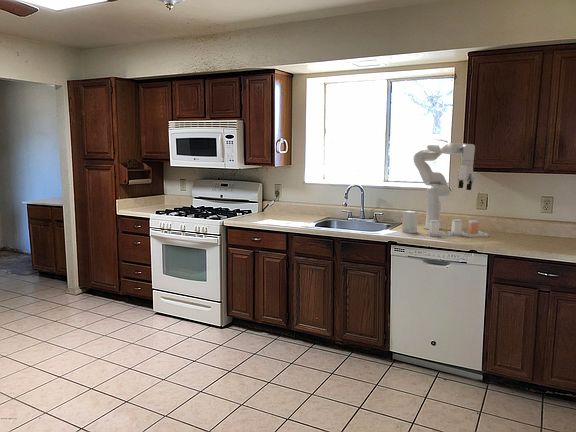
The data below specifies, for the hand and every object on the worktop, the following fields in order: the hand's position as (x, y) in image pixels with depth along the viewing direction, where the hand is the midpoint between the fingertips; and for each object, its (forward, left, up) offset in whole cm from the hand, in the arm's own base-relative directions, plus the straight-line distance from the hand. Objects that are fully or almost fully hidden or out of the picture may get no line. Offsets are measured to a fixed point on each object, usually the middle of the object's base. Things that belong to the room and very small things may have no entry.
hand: (464, 188), depth 308 cm
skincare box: (-9, -33, -32) cm, 47 cm away
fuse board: (+6, -15, -31) cm, 35 cm away
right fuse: (+6, -7, -30) cm, 31 cm away
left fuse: (+6, -23, -30) cm, 38 cm away
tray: (+6, +5, -31) cm, 32 cm away
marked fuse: (+6, +5, -31) cm, 32 cm away
